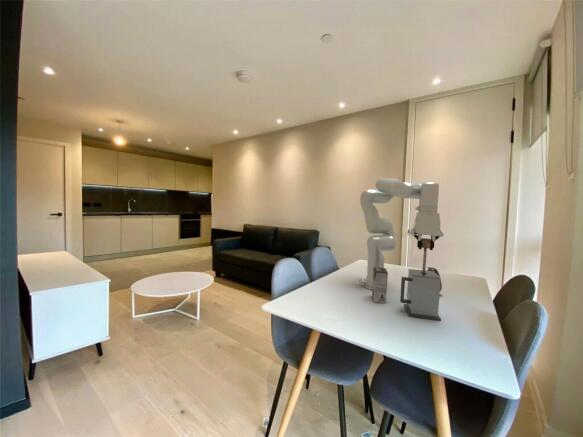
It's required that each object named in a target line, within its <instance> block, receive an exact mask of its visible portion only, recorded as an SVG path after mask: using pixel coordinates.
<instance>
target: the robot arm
mask: <svg viewBox="0 0 583 437" xmlns="http://www.w3.org/2000/svg"><path fill="white" fill-rule="evenodd" d="M374 186H375V189H373V188H369V189H365V190H363V191H362V192H361V193H360V197H359V203H360V207H361V209H362V211H363V214H364V221H365V225H366V226H365V227H366V229H367V230H366V231H367V232H368V233H369V234H372V235H371V236H369V237H367V240H366V247H367V248H366V249H367V266H366V268H367V269H366V270H367V271H366V278H364V279H362V278H359V279H358V282H359V283H361V284H363V286H364V287H363V288H366V289H369V290H371V291H372V287H373V268H374V267H375V268H385V257H384V255H383V253H382V252H390V251H394V250H395V249H396V248H397V239H396V234H395V229H394V224H393V222H392V221H391V220H390V219H388V218H381V217H380V214H379V210H378V209H377V207H376V206H375V205H374V204H387V203H390V201H391V200H392V199H394V197H397V198H402V199H411V200H412V199H413V200H414V199H415V200H419V202H418V206H415V208H414V209H415V210H416V211H418V212H416V215H415V220H414V227H412V229H411V230H410V232H409V234H410V235H411V236H413V237H414V238H415V239H416V240H417V242H416V247H417V248H418V249H419V250H422V249H423V248H422V241H421V238H422V237H423V235H424V236H425V235H426V236H430V239H431V246H430V248H428V249H429V250H430V251H433V249H435V242H436V241H437V240H439V239H440V238H442V237H443V236H444V233H443V231H442V230H441V214H440V213H438V206H439V192H440V185H439V183H438V182H434V181H432V182H431V181H430V182H428V181H427V182H423V183H422V182H421V183H419V182H406V181H404V182H403V181H402V180H401V179H398V178H393V177H391V178H390V177H381V178H378V179H377V181H376V182H375V184H374Z"/></svg>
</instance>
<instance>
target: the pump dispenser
mask: <svg viewBox="0 0 583 437" xmlns="http://www.w3.org/2000/svg"><path fill="white" fill-rule="evenodd" d="M426 271H434V272H435V273H436V274H437V275H438V276H439V277H441V275H440V273H439V271H438V269H437V268H435V267H430V266H428V267H427V270H426ZM442 285H443V284H442V279H441V280H440V293H441V291H442V290H443V286H442Z"/></svg>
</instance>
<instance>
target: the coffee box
mask: <svg viewBox="0 0 583 437" xmlns="http://www.w3.org/2000/svg"><path fill="white" fill-rule="evenodd" d="M388 276H389V274H388V271H387V268H385V267H384V268H375V267H374V268H373V287H372V290H371V292H372V293H371V297H372V301H373V303H381V304H386V303H387V290H388V279H389V277H388Z"/></svg>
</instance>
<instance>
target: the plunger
mask: <svg viewBox="0 0 583 437" xmlns="http://www.w3.org/2000/svg"><path fill="white" fill-rule="evenodd" d="M421 241H422V249H423V256H422V269H421V270H422V274H425V270H426V269H427V268H426V267H427V266H426V265H427V255H428V254H427V253H428V252H427V250H428V249H429V248H430V246H431V238H422V237H421Z"/></svg>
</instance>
